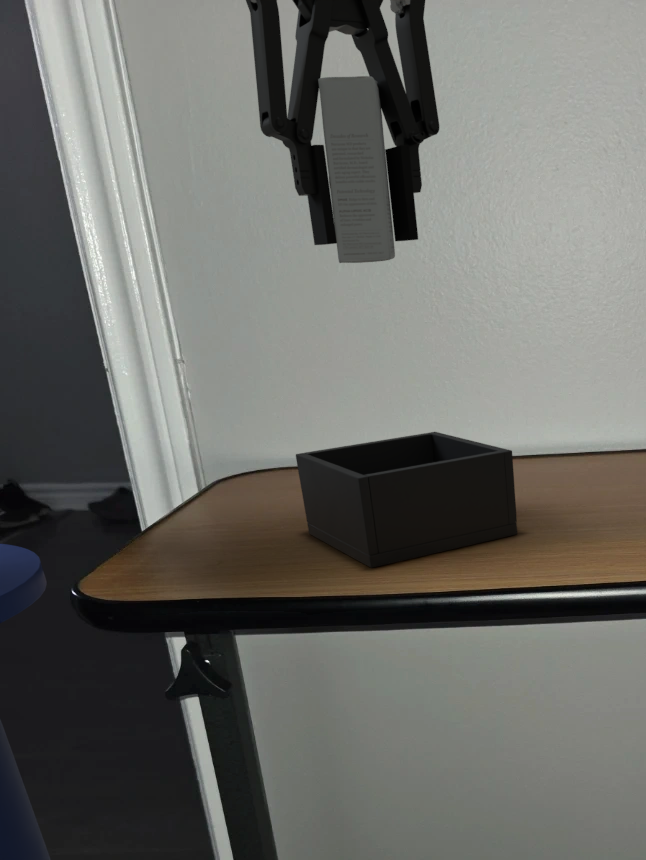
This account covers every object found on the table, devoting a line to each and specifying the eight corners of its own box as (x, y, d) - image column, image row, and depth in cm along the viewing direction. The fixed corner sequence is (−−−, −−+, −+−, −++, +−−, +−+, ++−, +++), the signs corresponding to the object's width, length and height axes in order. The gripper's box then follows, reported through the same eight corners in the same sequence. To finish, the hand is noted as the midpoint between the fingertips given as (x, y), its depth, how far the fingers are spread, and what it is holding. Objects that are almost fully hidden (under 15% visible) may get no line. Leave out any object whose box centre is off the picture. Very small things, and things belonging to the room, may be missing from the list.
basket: (371, 568, 72) (358, 478, 69) (308, 533, 83) (295, 454, 80) (517, 534, 79) (512, 450, 76) (443, 506, 89) (435, 431, 86)
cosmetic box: (345, 263, 77) (321, 89, 72) (399, 260, 78) (379, 86, 72) (337, 264, 72) (311, 76, 66) (395, 260, 72) (374, 72, 67)
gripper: (195, -181, 56) (265, 246, 66) (470, -133, 65) (494, 235, 76) (163, -138, 62) (233, 249, 72) (421, -99, 71) (449, 239, 81)
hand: (366, 241), depth 74 cm, fingers closed on cosmetic box, 6 cm apart
